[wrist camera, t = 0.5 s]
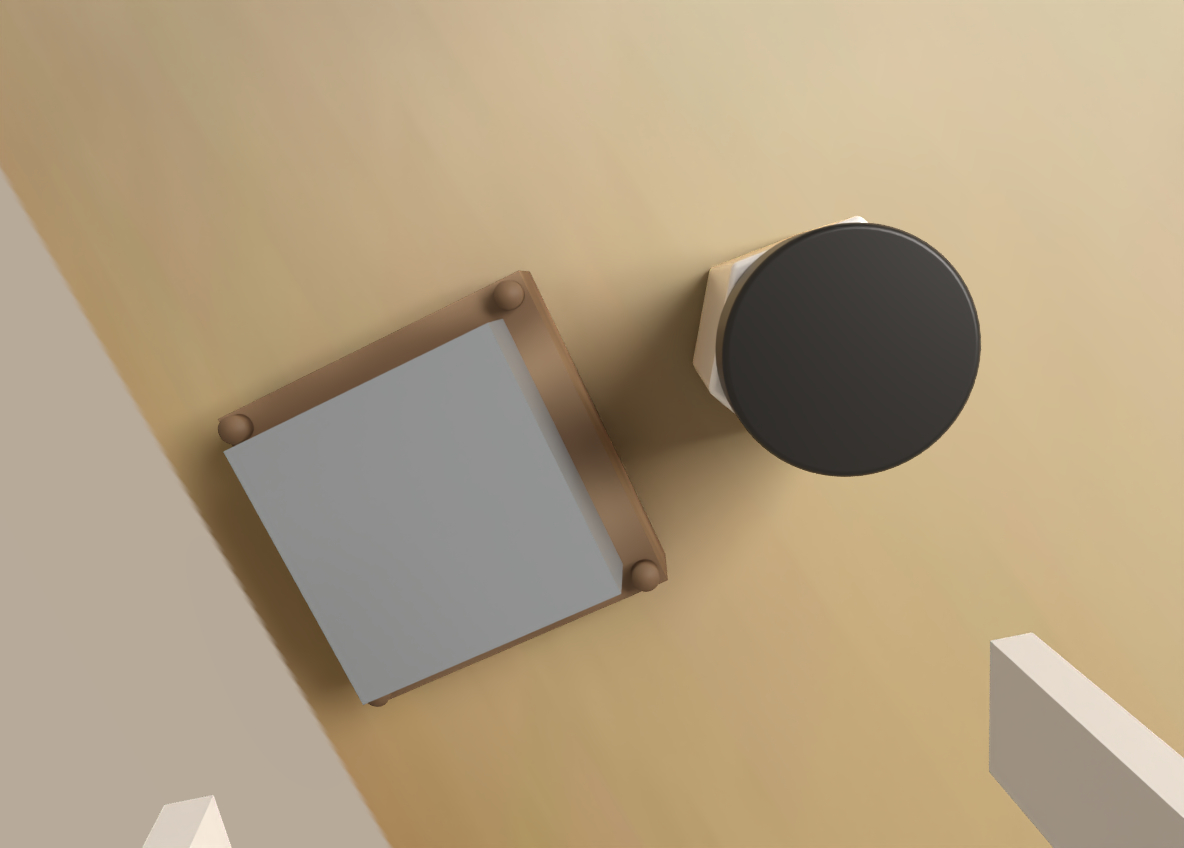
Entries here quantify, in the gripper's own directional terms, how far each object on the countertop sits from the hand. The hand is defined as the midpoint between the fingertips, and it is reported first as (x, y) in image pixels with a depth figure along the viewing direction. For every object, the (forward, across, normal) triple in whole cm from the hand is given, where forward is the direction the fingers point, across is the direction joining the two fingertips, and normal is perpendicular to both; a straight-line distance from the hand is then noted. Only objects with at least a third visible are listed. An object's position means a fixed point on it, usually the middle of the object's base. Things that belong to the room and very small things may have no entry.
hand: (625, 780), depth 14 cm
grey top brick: (+23, -5, -3) cm, 24 cm away
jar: (+25, +12, +1) cm, 27 cm away
